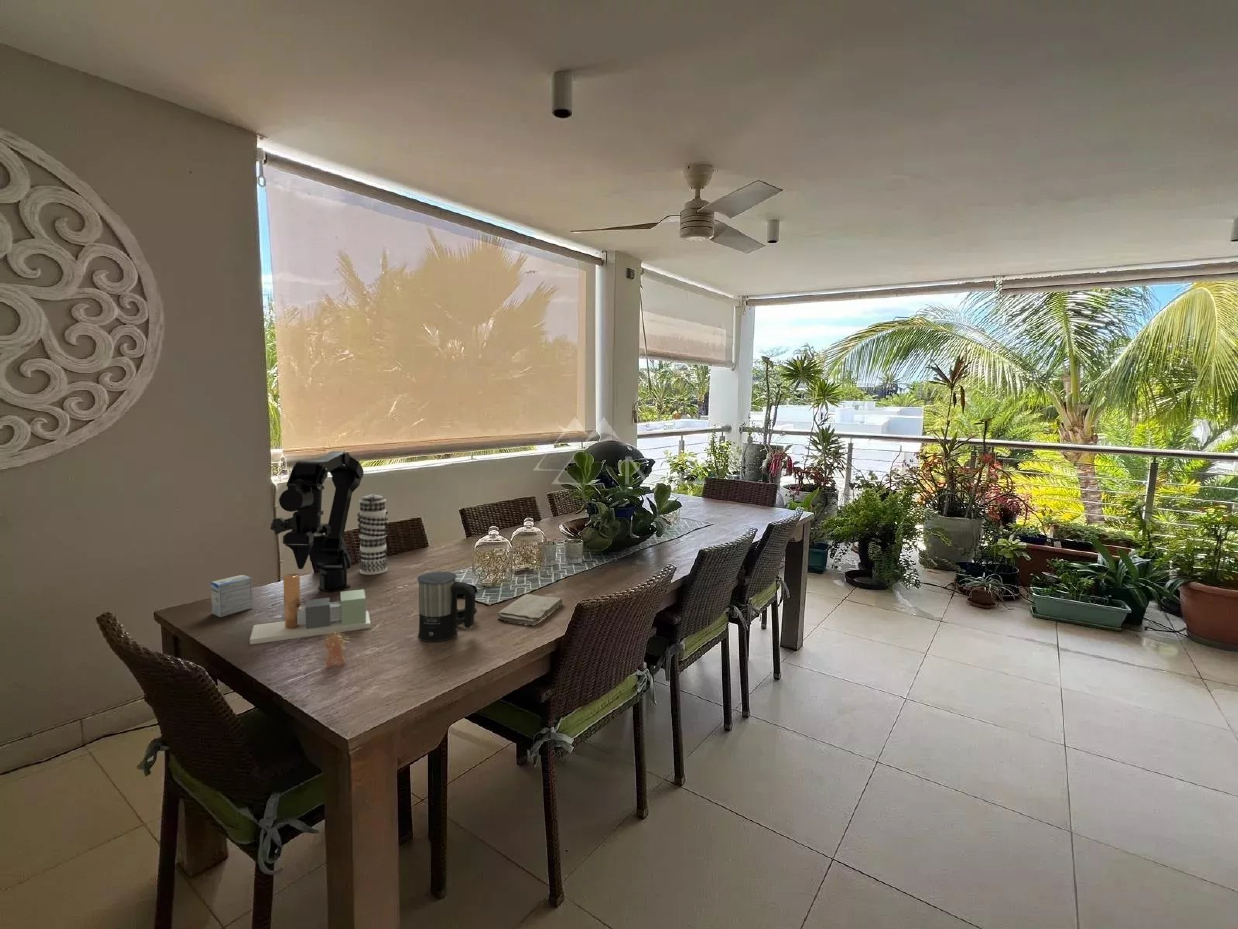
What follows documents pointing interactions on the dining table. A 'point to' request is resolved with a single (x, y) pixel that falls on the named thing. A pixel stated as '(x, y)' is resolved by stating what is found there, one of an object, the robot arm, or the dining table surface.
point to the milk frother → (443, 606)
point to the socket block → (353, 607)
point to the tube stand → (305, 625)
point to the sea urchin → (335, 649)
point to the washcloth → (529, 609)
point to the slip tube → (292, 607)
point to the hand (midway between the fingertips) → (306, 565)
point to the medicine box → (231, 595)
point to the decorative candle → (372, 535)
